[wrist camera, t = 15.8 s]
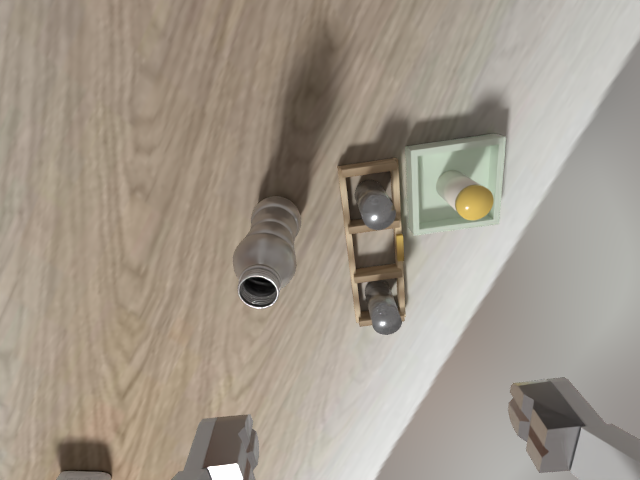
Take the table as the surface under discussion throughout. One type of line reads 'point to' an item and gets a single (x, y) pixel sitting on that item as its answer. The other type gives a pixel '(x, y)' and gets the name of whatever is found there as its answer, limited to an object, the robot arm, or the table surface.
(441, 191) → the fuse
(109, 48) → the table surface
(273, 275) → the plastic bottle
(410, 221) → the tray
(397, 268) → the rack
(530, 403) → the robot arm
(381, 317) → the canister
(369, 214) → the canister
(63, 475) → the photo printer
